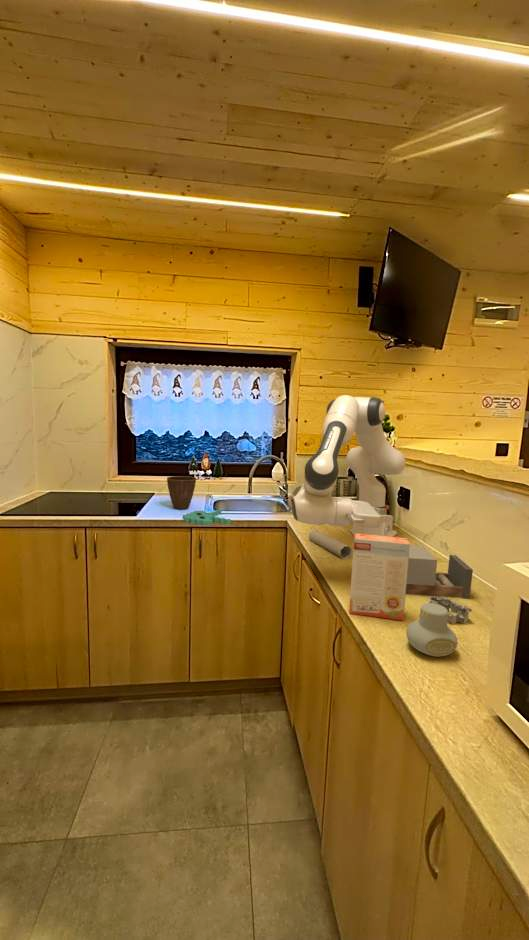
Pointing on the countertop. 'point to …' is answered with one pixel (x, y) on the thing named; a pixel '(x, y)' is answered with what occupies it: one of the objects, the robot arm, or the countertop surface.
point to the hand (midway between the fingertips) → (389, 515)
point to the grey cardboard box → (421, 566)
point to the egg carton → (452, 609)
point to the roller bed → (435, 589)
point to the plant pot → (181, 491)
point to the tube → (330, 544)
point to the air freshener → (432, 631)
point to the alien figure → (205, 517)
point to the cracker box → (379, 576)
